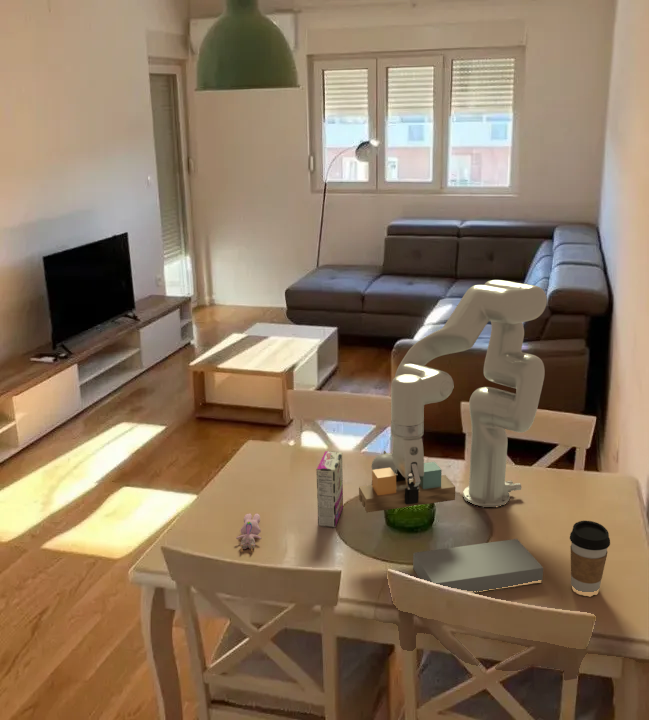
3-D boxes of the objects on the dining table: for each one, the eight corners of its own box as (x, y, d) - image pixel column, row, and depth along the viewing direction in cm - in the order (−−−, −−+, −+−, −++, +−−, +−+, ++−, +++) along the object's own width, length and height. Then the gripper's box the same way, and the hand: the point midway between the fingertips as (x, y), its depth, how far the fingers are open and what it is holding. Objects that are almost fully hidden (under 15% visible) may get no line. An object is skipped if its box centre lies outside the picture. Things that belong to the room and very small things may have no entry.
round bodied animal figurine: (403, 472, 235) (404, 445, 232) (392, 489, 224) (392, 462, 222) (380, 468, 237) (380, 442, 235) (368, 485, 227) (368, 458, 224)
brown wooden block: (445, 487, 197) (445, 474, 196) (455, 499, 191) (455, 486, 190) (359, 499, 192) (358, 486, 191) (366, 512, 186) (366, 499, 185)
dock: (516, 553, 191) (517, 538, 190) (542, 583, 179) (543, 567, 178) (413, 567, 186) (413, 552, 184) (432, 599, 174) (433, 583, 172)
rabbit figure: (260, 558, 193) (265, 519, 207) (258, 538, 190) (264, 500, 204) (234, 557, 193) (241, 518, 207) (232, 538, 191) (240, 500, 204)
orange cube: (390, 484, 192) (390, 467, 190) (396, 492, 188) (396, 475, 186) (372, 486, 191) (372, 469, 189) (377, 495, 187) (377, 478, 185)
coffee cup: (596, 578, 181) (602, 519, 176) (610, 600, 173) (617, 538, 168) (560, 579, 181) (565, 520, 176) (572, 601, 173) (578, 539, 168)
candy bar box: (325, 506, 215) (324, 450, 210) (343, 507, 214) (343, 451, 209) (316, 526, 205) (315, 468, 200) (335, 528, 204) (335, 469, 199)
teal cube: (434, 478, 194) (434, 461, 193) (441, 486, 190) (441, 469, 188) (416, 480, 193) (417, 463, 192) (423, 489, 189) (423, 472, 187)
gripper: (435, 440, 178) (434, 511, 184) (410, 412, 194) (409, 478, 200) (403, 444, 177) (403, 515, 182) (380, 415, 193) (381, 482, 198)
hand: (406, 495), depth 191 cm, fingers closed on brown wooden block, 6 cm apart
